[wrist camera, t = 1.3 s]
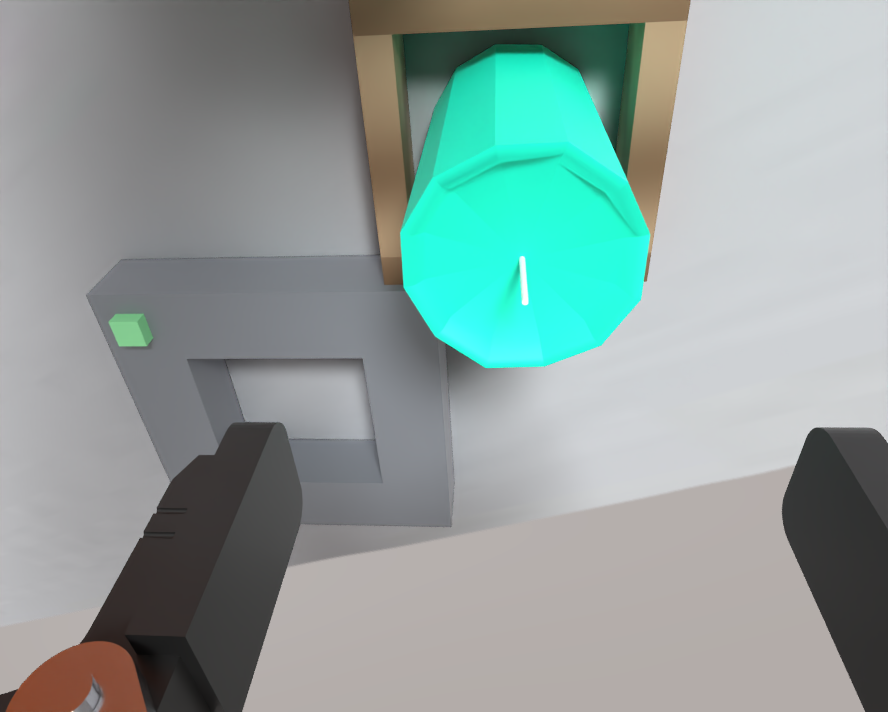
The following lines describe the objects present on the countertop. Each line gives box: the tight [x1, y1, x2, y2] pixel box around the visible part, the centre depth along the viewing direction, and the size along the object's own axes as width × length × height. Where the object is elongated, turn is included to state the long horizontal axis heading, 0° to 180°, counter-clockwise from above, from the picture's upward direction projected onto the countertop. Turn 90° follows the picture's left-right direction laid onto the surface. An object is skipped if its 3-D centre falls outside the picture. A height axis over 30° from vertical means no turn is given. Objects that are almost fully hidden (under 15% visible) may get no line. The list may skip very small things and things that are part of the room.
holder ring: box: [349, 0, 690, 285], centre depth 22 cm, size 10×10×2 cm
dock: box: [86, 255, 455, 527], centre depth 30 cm, size 14×14×4 cm
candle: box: [400, 44, 650, 368], centre depth 19 cm, size 6×6×12 cm
